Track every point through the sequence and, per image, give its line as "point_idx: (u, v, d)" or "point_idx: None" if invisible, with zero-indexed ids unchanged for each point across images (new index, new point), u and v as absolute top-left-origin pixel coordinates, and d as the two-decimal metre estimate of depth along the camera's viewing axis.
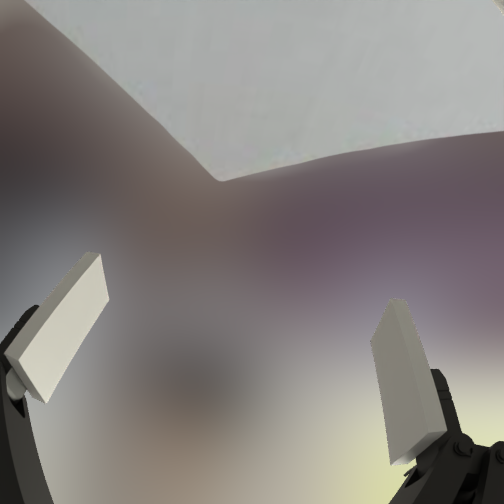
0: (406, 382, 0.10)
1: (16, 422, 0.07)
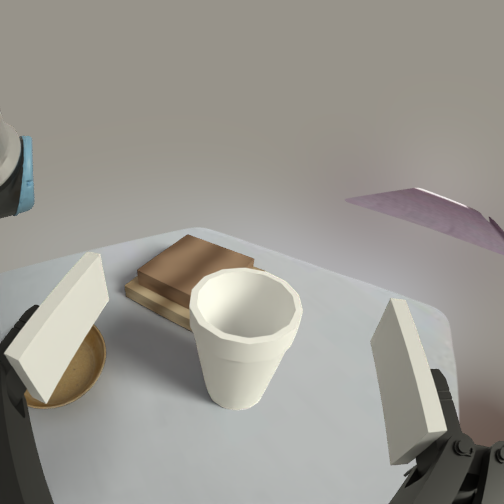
0: (406, 382, 0.10)
1: (16, 422, 0.07)
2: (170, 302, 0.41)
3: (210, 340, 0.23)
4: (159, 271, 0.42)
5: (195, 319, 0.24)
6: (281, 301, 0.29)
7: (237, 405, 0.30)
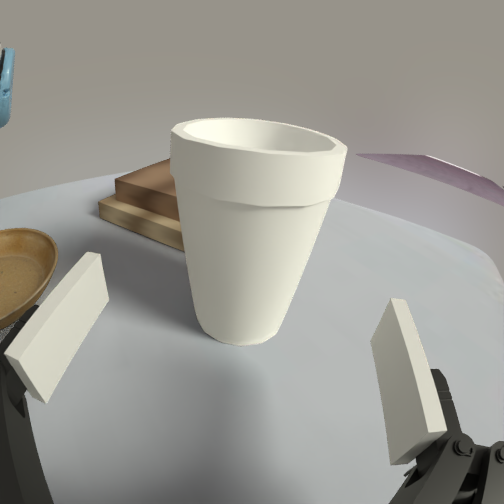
0: (406, 382, 0.10)
1: (16, 422, 0.07)
2: (153, 214, 0.31)
3: (200, 164, 0.13)
4: (142, 179, 0.32)
5: (178, 139, 0.14)
6: None
7: (243, 333, 0.20)
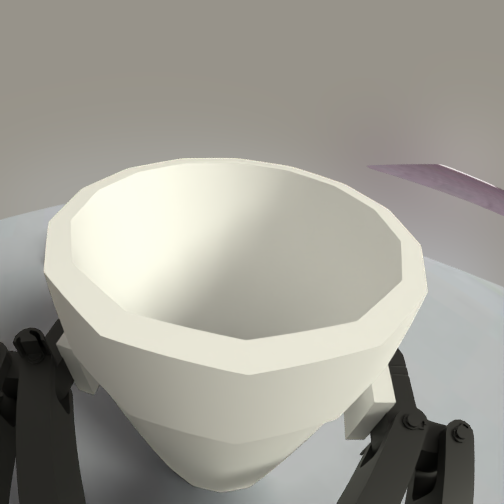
0: None
1: (60, 419, 0.07)
2: None
3: (84, 343, 0.05)
4: None
5: None
6: (335, 235, 0.11)
7: (222, 489, 0.11)
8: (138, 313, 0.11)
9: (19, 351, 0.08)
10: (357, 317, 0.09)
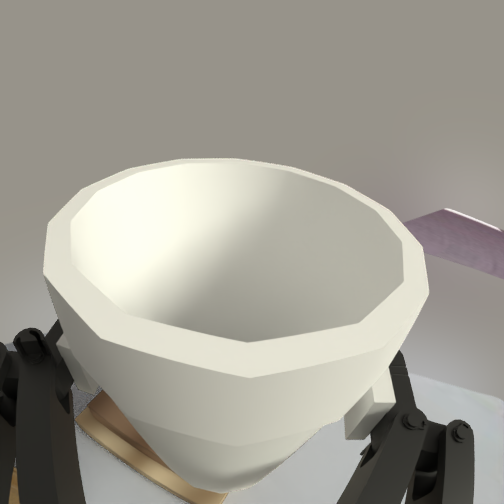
0: None
1: (60, 419, 0.07)
2: (143, 458, 0.21)
3: (83, 345, 0.05)
4: None
5: None
6: (335, 236, 0.11)
7: (223, 490, 0.11)
8: (138, 314, 0.11)
9: (19, 351, 0.08)
10: (358, 318, 0.09)
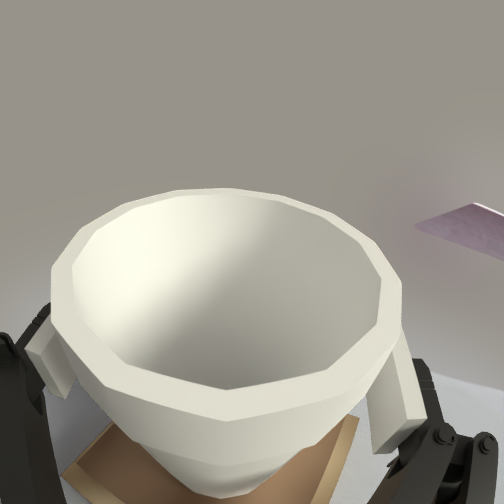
0: (387, 370, 0.10)
1: (33, 420, 0.07)
2: None
3: (90, 384, 0.06)
4: (129, 475, 0.13)
5: None
6: (323, 265, 0.11)
7: (221, 496, 0.12)
8: (139, 337, 0.12)
9: None
10: (342, 344, 0.10)
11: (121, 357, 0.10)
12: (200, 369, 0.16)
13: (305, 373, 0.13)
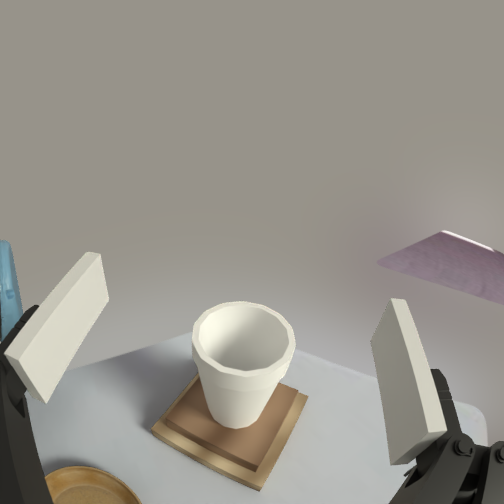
0: (406, 382, 0.10)
1: (16, 422, 0.07)
2: (208, 453, 0.31)
3: (211, 372, 0.25)
4: (192, 420, 0.33)
5: (197, 353, 0.26)
6: (276, 332, 0.31)
7: (236, 424, 0.31)
8: None
9: None
10: None
11: None
12: None
13: None
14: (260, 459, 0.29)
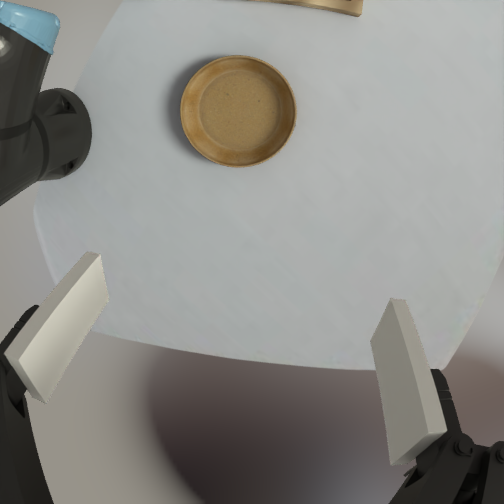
0: (406, 382, 0.10)
1: (16, 422, 0.07)
2: None
3: None
4: None
5: None
6: None
7: None
8: None
9: None
10: None
11: None
12: None
13: None
14: None
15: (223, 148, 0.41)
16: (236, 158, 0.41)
